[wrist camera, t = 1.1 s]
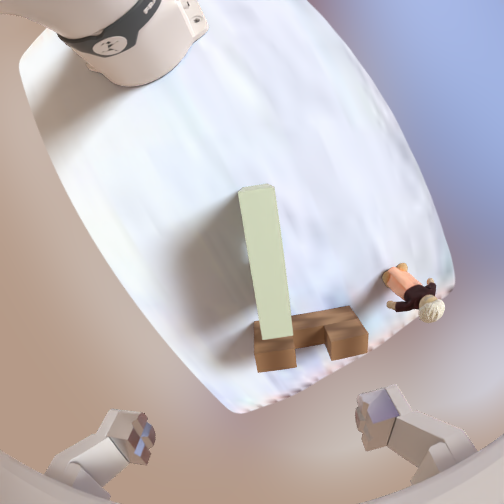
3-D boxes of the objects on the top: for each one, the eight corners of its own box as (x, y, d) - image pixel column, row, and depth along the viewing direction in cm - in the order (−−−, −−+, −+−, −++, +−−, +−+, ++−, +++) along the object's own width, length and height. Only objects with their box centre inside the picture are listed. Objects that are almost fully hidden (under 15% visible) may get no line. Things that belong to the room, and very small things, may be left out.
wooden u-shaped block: (257, 338, 39) (257, 372, 32) (254, 321, 39) (254, 354, 31) (349, 322, 39) (367, 352, 31) (349, 305, 38) (368, 333, 30)
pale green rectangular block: (243, 187, 34) (237, 192, 22) (267, 183, 34) (274, 186, 22) (260, 291, 37) (262, 339, 26) (281, 288, 37) (293, 335, 26)
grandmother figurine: (406, 251, 36) (458, 282, 24) (415, 271, 37) (464, 306, 24) (366, 281, 37) (407, 324, 25) (376, 300, 38) (416, 346, 26)
